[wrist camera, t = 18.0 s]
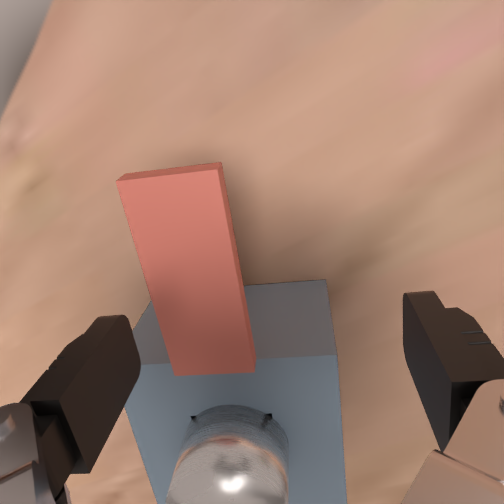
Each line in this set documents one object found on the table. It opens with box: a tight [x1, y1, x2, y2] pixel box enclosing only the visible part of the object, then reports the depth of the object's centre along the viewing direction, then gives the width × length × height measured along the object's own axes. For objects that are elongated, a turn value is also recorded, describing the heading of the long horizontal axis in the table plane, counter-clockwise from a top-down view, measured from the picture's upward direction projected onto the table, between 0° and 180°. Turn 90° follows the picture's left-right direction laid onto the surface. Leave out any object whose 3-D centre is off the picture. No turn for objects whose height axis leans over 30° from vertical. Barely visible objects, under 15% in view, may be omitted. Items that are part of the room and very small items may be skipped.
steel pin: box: [166, 404, 289, 504], centre depth 25 cm, size 6×6×11 cm
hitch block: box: [124, 280, 347, 504], centre depth 27 cm, size 12×12×8 cm
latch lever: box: [116, 162, 256, 376], centre depth 18 cm, size 10×4×1 cm, turn 8°
